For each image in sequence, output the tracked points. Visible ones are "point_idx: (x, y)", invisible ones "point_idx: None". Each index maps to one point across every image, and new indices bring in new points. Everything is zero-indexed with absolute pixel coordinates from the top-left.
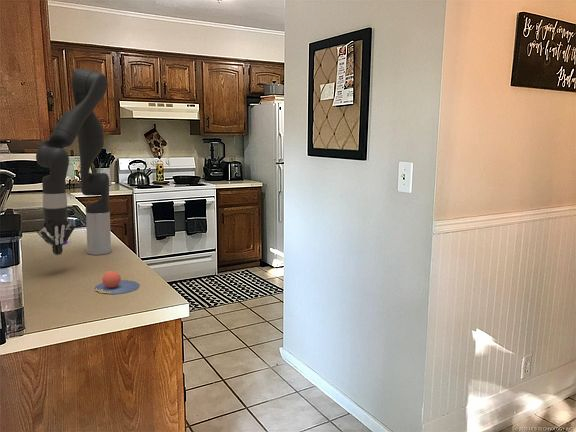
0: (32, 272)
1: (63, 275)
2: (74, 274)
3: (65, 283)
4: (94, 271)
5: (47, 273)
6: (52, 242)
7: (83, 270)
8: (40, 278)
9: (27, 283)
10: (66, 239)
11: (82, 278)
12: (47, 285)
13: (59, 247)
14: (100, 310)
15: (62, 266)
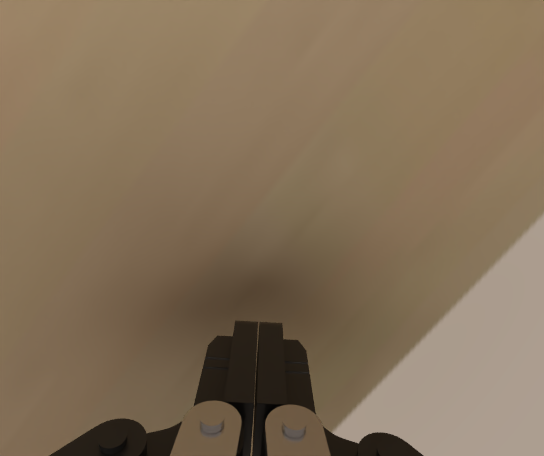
0: (320, 410)
1: (261, 211)
2: (200, 166)
3: (395, 21)
4: (53, 100)
5: (287, 330)
6: (388, 450)
7: (95, 195)
8: (387, 277)
9: (504, 254)
10: (109, 437)
11: (233, 16)
12: (490, 100)
13: (254, 372)
14: None
15: (133, 378)
